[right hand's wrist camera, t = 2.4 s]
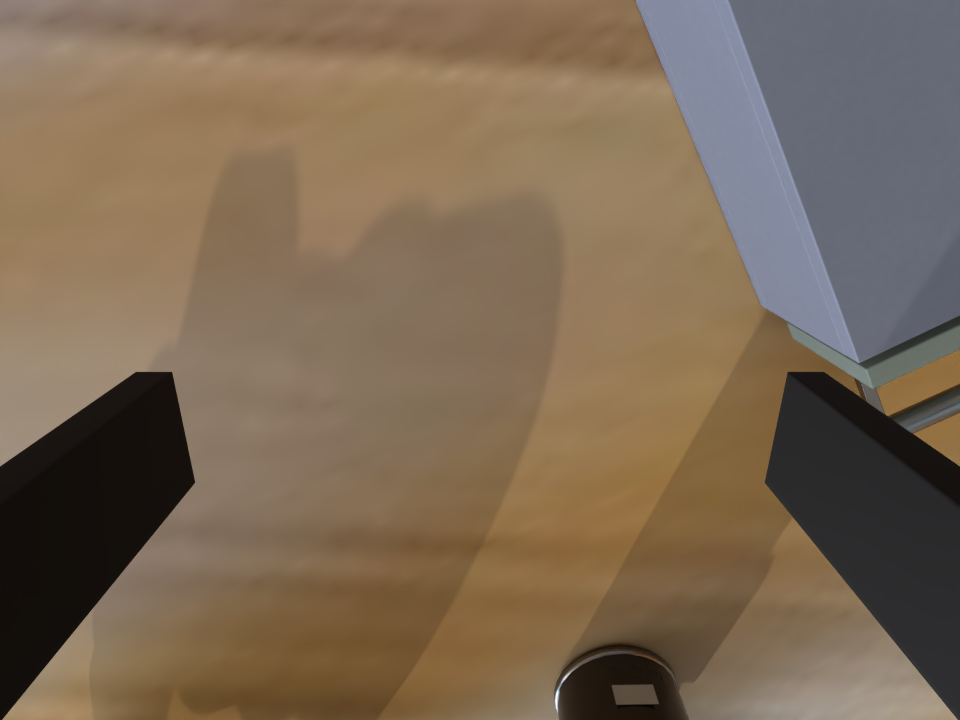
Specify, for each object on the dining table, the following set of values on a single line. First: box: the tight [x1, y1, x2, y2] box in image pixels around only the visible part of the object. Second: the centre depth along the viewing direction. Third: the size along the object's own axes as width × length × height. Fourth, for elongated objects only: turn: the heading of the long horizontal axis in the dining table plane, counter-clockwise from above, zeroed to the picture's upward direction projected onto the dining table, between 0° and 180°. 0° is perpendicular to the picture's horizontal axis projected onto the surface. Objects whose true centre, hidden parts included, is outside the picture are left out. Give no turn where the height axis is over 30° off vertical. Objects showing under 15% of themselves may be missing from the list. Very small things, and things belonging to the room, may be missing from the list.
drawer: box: [787, 316, 960, 434], centre depth 28 cm, size 22×9×7 cm, turn 30°
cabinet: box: [636, 0, 960, 363], centre depth 26 cm, size 18×10×9 cm, turn 30°
